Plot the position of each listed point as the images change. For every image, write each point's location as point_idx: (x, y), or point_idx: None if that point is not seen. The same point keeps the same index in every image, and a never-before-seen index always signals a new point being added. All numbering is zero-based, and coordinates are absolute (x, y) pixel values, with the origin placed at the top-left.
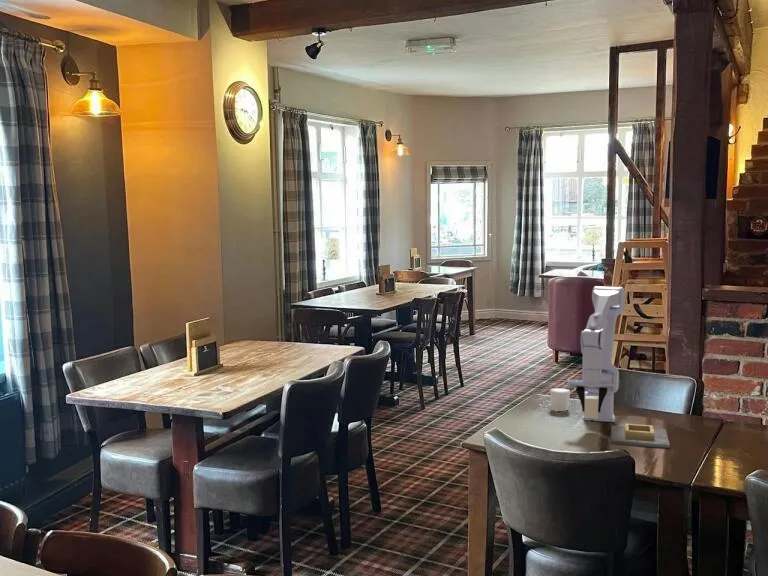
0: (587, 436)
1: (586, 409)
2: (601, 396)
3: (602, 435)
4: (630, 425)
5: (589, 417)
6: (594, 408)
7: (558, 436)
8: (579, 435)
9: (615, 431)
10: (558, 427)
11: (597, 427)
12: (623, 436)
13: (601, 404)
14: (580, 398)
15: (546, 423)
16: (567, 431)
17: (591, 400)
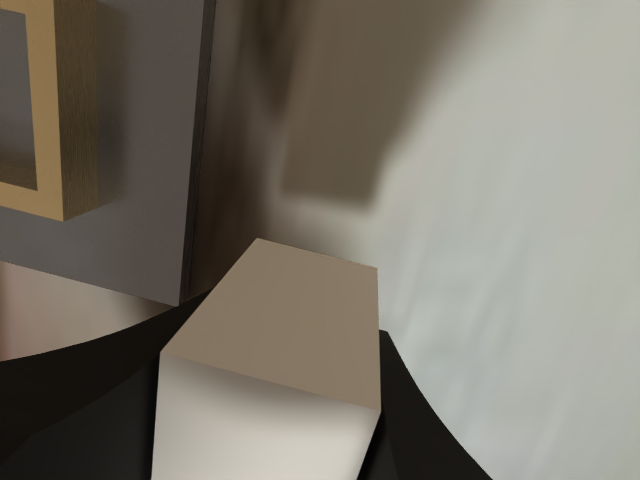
0: (377, 113)
1: (356, 304)
2: (63, 374)
3: (261, 145)
4: (27, 186)
5: (330, 258)
6: (261, 291)
7: (626, 99)
8: (434, 137)
9: (160, 167)
10: (532, 328)
11: None
12: (109, 30)
13: (154, 317)
14: (448, 439)
15: (584, 410)
16: (497, 237)
17: (273, 365)
